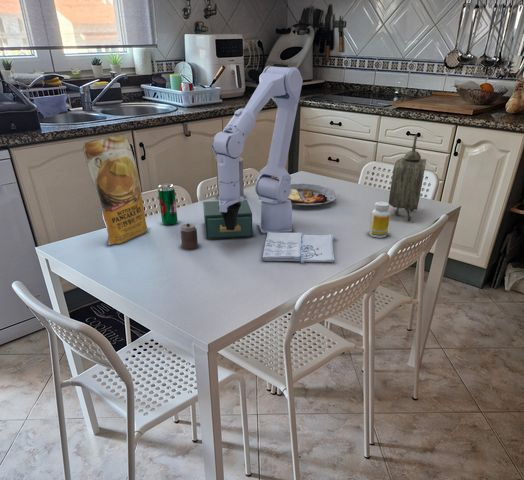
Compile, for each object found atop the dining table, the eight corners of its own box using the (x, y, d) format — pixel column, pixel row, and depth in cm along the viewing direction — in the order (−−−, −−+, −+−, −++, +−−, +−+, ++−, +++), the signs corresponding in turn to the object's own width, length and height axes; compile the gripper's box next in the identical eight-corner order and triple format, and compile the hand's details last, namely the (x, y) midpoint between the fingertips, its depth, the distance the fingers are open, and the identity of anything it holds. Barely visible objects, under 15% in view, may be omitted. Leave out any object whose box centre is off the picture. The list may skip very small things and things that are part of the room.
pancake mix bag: (94, 244, 141) (73, 142, 126) (139, 225, 155) (125, 130, 139) (111, 249, 138) (91, 145, 123) (155, 229, 152) (143, 132, 136)
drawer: (252, 240, 142) (252, 221, 138) (209, 242, 140) (208, 224, 137) (246, 221, 155) (245, 204, 152) (206, 223, 153) (205, 206, 150)
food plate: (339, 211, 166) (340, 200, 164) (271, 210, 166) (271, 200, 164) (331, 190, 187) (332, 180, 185) (271, 190, 187) (271, 180, 185)
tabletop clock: (414, 224, 155) (428, 140, 141) (385, 221, 158) (397, 139, 144) (417, 210, 166) (431, 132, 152) (390, 207, 169) (401, 130, 155)
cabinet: (252, 236, 146) (252, 213, 142) (206, 239, 145) (204, 215, 141) (247, 221, 157) (246, 199, 153) (204, 223, 156) (203, 201, 152)
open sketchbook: (267, 236, 146) (267, 229, 145) (334, 238, 145) (335, 231, 143) (261, 262, 131) (261, 254, 129) (336, 265, 129) (336, 257, 128)
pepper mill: (188, 242, 142) (186, 219, 138) (201, 245, 140) (199, 222, 137) (178, 247, 139) (176, 224, 135) (191, 250, 137) (189, 227, 133)
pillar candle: (217, 194, 183) (215, 152, 174) (243, 193, 184) (242, 151, 175) (218, 201, 175) (215, 158, 166) (245, 200, 176) (244, 157, 167)
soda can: (174, 226, 154) (170, 188, 147) (159, 225, 155) (155, 187, 148) (180, 221, 158) (176, 183, 151) (165, 220, 159) (161, 182, 152)
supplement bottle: (365, 233, 149) (369, 201, 143) (380, 230, 150) (385, 199, 145) (374, 239, 144) (379, 207, 139) (390, 236, 146) (395, 205, 141)
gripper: (236, 188, 123) (238, 239, 131) (249, 174, 135) (250, 221, 143) (210, 187, 125) (213, 237, 132) (224, 173, 136) (227, 220, 144)
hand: (230, 229), depth 138 cm, fingers closed
